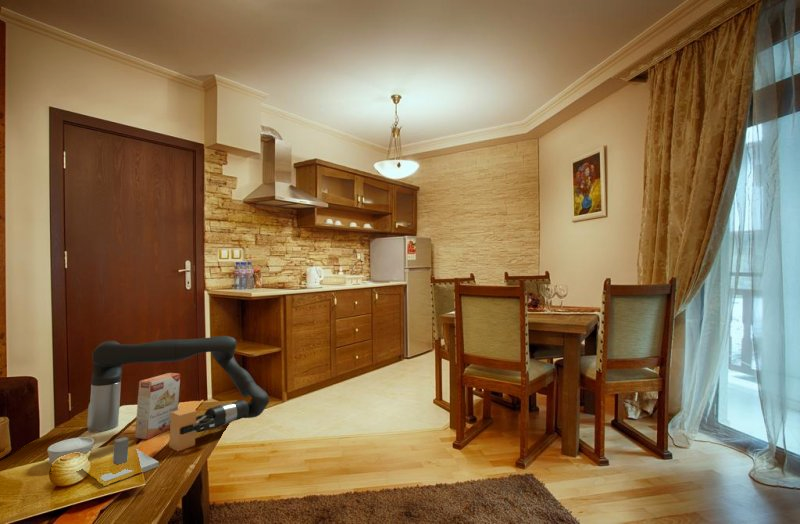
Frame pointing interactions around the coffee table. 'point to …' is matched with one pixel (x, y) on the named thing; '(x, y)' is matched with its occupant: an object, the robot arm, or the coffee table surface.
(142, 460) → the post stand
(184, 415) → the tan upright sponge
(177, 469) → the coffee table surface
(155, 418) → the cracker box
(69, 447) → the ramekin
